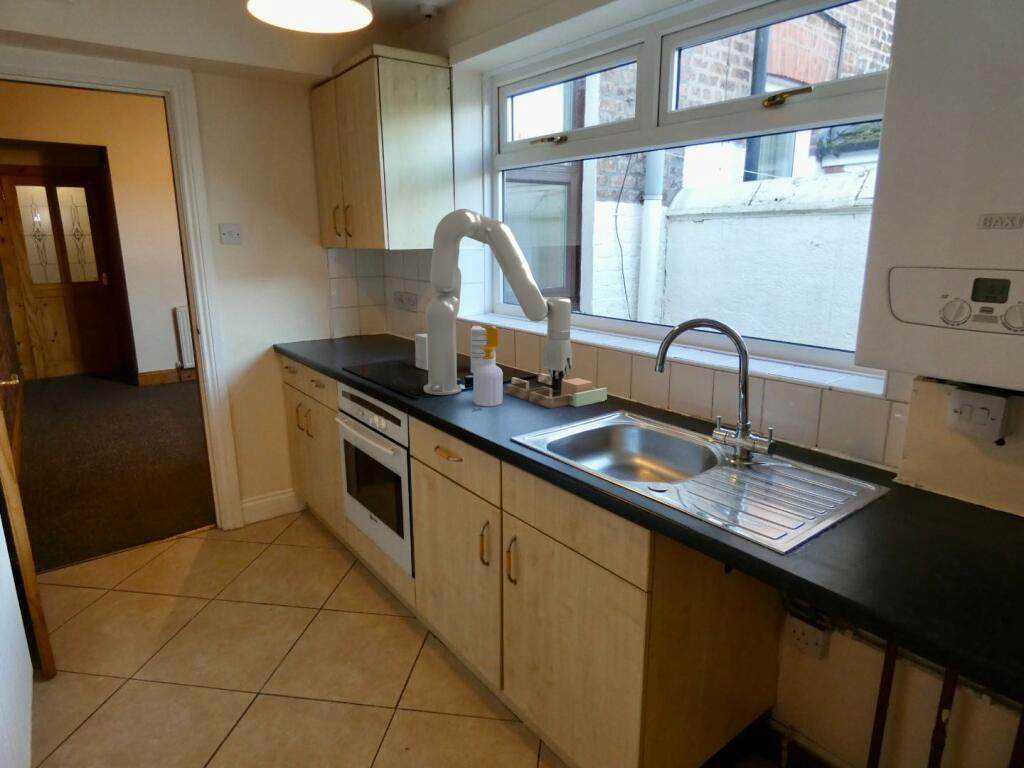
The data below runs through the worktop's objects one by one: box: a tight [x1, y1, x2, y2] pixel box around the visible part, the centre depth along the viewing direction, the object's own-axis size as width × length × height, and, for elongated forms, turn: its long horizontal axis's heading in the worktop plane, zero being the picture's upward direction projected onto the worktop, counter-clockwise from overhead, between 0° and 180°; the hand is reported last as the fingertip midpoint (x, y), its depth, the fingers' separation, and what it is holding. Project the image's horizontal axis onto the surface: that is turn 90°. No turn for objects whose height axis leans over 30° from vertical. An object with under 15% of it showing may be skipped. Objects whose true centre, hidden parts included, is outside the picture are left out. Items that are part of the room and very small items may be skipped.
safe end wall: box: [573, 387, 608, 408], centre depth 197 cm, size 1×13×4 cm, turn 128°
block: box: [560, 377, 594, 396], centre depth 202 cm, size 7×7×6 cm
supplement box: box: [470, 325, 497, 374], centre depth 240 cm, size 10×9×17 cm
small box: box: [414, 332, 428, 371], centre depth 244 cm, size 8×6×13 cm
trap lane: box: [505, 372, 598, 409], centre depth 208 cm, size 31×21×3 cm
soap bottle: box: [472, 325, 504, 408], centre depth 194 cm, size 9×9×25 cm
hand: (556, 389), depth 210 cm, fingers closed
